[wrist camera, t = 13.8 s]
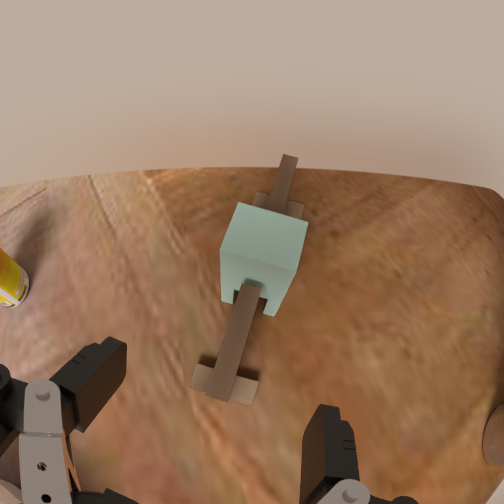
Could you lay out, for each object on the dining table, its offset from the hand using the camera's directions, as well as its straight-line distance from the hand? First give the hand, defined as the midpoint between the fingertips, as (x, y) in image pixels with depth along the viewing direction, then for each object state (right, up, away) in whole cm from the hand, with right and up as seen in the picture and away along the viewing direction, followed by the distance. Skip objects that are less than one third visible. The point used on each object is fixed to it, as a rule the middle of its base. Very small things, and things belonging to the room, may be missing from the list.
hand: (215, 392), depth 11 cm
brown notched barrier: (+2, +2, +21) cm, 21 cm away
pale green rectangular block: (+2, +2, +21) cm, 21 cm away
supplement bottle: (-28, +1, +18) cm, 34 cm away
